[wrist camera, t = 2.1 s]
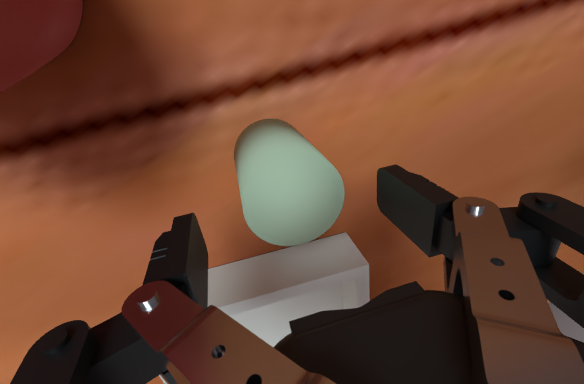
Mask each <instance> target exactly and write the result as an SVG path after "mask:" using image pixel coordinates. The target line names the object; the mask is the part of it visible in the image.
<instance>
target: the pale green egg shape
mask: <svg viewBox="0 0 584 384" xmlns="http://www.w3.org/2000/svg"><path fill="white" fill-rule="evenodd" d="M234 160H235V166H236V171H237V177H238V183H239V189H240V195H241V201H242V207H243V213H244V217H245V220H246V222H247V224H248V226H249V228H250V229H251V230H252V231H253V232H254V233H255V234H256V235H257V236H258V237H259V238H261V239H262V240H264V241H266V242H268V243H271V244H275V245H280V246H295V245H300V244H304V243H307V242H309V241H312V240H314V239H316V238H317V237H319V236H321V235H322V234H323V233H325V232H326V231H327V230H328V229H329V228H330V227H331V226H332V225H333V224H334V222H335V221H336V219H337V218H338V216H339V214H340V212H341V210H342V207H343V203H344V196H345V191H344V184H343V181H342V178H341V176H340V174H339V172H338V171H337V169H336V168H335V167H334V166H333V165H332V164H331V163H330V162H329V161H328V160H327V159H326V158H325V157H324V156H323V155H322V154H321V153H320V152H319V151H318V150H317V149H316V148H315V147H314V146H313V145H312V144H311V143H310V142H308V141H307V140H306V139H305V138H304V137H303V136H302V135H301V134H300V133H299V132H298V131H297V130H296V129H295V128H294V127H293V126H292V125H290V124H289V123H287V122H285V121H282V120H279V119H263V120H259V121H257V122H254V123H253V124H251V125H249V126H248V127H247V128H246V129H245V130H244V131H243V132H242V133H241V134H240V136H239V138H238V139H237V142H236V145H235V149H234Z"/></svg>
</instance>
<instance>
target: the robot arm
mask: <svg viewBox="0 0 584 384" xmlns="http://www.w3.org/2000/svg"><path fill="white" fill-rule="evenodd" d="M377 204H378V207H379V209H380V211H381V212H382V213H383V214H384V215H385V216H386V217H387V218H388V219H389V220H390V221H391V222H392V223H393V224H395V225H396V226H397V227H398V228H399V229H400V230H401V231H402V232H403V233H404V234H405V235H406V236H407V237H408V238H409V239H410V240H411V241H413V242H414V243H415V244H416V245H417V246H418V247H419V248H420V249H421V250H422V251H423V252H424V253H425V254H426V255H427V256H428V257H433V256H436V255H439V254H443V255H444V262H443V266H444V284H445V292H444V291H434V290H425V291H424V290H423V288H422V287H421V286H420V285H419V284H418V283H417V282H416V281H415V282H412V283H408V284H405V285H402V286H399V287H396V288H393V289H390V290H386V291H385V292H383V293H382V294H380V295H379V296H377V297H375V298H374V299H372V300H371V301H369V302H368V303H366V304H364V305H363V306H361V307H359V308H351V309H339V310H327V311H320V312H317V313H314V314H311V315H308V316H304V317H301V318H298V319H295V320H292V321H289V325H290V329H291V333H290V334H288V335H287V336H285V337H284V338H283V339H282V340H280V341H279V342H278V343H277V344H276V345H275V346H274V347H272V346H271V345H269V344H268V343H266V342H265V341H264V340H262V339H261V338H259V337H258V336H257V335H255V334H254V333H252V332H251V331H250V330H248V329H247V328H245V327H244V326H243V325H241V324H240V323H238V322H237V321H236V320H234V319H233V318H231V317H230V316H229V315H227V314H226V313H224V312H223V311H222V310H220V309H219V308H217V307H216V306H214V305H210V306H208V252H207V247H206V244H205V241H204V238H203V235H202V232H201V229H200V227H199V224H198V221H197V218H196V216H195V214H194V213H190V214H186V215H182V216H178V217H174V220H173V224H172V229H171V231H168V232H164V233H162V235H161V236H160V237H159V238H158V239H157V240H156V242H155V244H154V248H153V253H152V255H151V258H150V259H151V260H150V261H149V265H148V268H147V272H146V275H145V278H144V282H143V285H142V286H141V287H139V288H138V289H136V290H135V291H134V292H133V293H131V294H130V295H129V297H128V298H127V299H126V300H125V302H124V304H123V306H122V312H121V313H119V314H118V315H116V316H114V317H112V318H110V319H108V320H106V321H104V322H103V323H101V324H99V325H97V326H95V327H93V328H90V327H89V326H88V324H87V323H86V322H84V321H81V320H74V321H70V322H66V323H64V324H61V325H59V326H57V327H55V328H54V329H52V330H50V331H49V332H47V333H46V334H45V335H43V336H42V337H41V338H40V339H39V340H37V341H36V342H35V344H34V345H33V346H32V347H31V348H30V349H29V351H28V352H27V354H26V356H25V357H24V359H23V361H22V363H21V365H20V367H19V368H18V370H17V372H16V374H15V376H14V378H13V379H12V381H11V383H10V384H146V383H147V382H149V381H150V380H152V379H154V378H155V377H157V376H158V375H160V376H161V377H162V378H163V379H164V380H165V381H166V383H167V384H584V343H583V342H580V341H578V340H575V339H573V338H570V337H567V336H565V335H563V334H562V333H561V332H560V330H559V328H558V326H557V323H556V321H555V318H554V316H553V313H552V311H551V309H550V306H549V304H548V301H547V299H548V300H549V301H550V302H551V303H553V304H554V305H555V306H556V307H558V308H559V309H560V310H562V311H563V312H564V313H565V314H567V315H568V316H569V317H570V318H572V319H573V320H574V321H575V322H577V323H578V324H579V325H580V326H582V327H583V328H584V275H583V274H582V273H580V272H579V271H577V270H575V269H574V268H572V267H571V266H569V265H568V264H566V263H565V262H563V261H561V260H560V259H558V258H557V257H555V256H556V254H557V251H558V249H559V246H560V244H561V242H563V243H564V244H566V245H568V246H569V247H571V248H573V249H574V250H576V251H578V252H580V253H581V254H583V255H584V207H582V206H580V205H578V204H576V203H573V202H571V201H569V200H567V199H564V198H562V197H559V196H556V195H552V194H547V193H527V194H524V195H522V196H521V198H520V201H519V204H518V207H509V208H499V207H498V206H497V205H496V204H495V203H493V202H491V201H489V200H486V199H483V198H478V197H462V198H458V197H456V196H455V195H453V194H451V193H450V192H448V191H446V190H445V189H443V188H441V187H440V186H437V185H436V184H434V183H433V182H430V181H429V180H428V179H426V178H424V177H423V176H421V175H417V174H414V173H411V172H408V171H406V170H405V169H403V168H401V167H400V166H398V165H391V166H387V167H383V168H380V169H378V172H377Z"/></svg>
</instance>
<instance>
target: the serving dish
mask: <svg viewBox="0 0 584 384" xmlns="http://www.w3.org/2000/svg"><path fill="white" fill-rule="evenodd" d="M369 301H370V288H369V263H368V262H367V261H366V259H365V258H364V256H363V255H362V254H361V252H360V251H359V250H358V248H357V247H356V245H355V244H354V243H353V241H352V240H351V238H350V237H349V236H348V234H347V233H346V232H344V233H340V234H337V235H333V236H329V237H326V238H322V239H318V240H314V241H311V242H307V243H304V244H300V245H296V246H292V247H288V248H285V249H281V250H277V251H273V252H270V253H266V254H262V255H259V256H255V257H251V258H247V259H244V260H240V261H236V262H232V263H229V264H225V265H221V266H218V267H214V268H210V269H208V306H210V305H214V306H216V307H217V308H219V309H220V310H222V311H223V312H224V313H226V314H227V315H229V316H230V317H231V318H233V319H234V320H236V321H237V322H238V323H240V324H241V325H243V326H244V327H245V328H247V329H248V330H250V331H251V332H252V333H254V334H255V335H257V336H258V337H259V338H261V339H262V340H264V341H265V342H266V343H268V344H269V345H271V346H272V347H274V346H275V345H276V344H277V343H278V342H279V341H280V340H282V339H283V338H284V337H285V336H287V335H288V334H290V333H291V329H290V325H289V321H292V320H295V319H298V318H301V317H304V316H308V315H311V314H314V313H317V312H320V311H327V310H339V309H351V308H359V307H361V306H363V305H364V304H366V303H368V302H369ZM159 376H160V375H159ZM160 378H161V379H162V381H163V382H164V384H167V383H166V381H165V380H164V379H163V378H162V377H161V376H160Z"/></svg>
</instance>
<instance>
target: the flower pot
mask: <svg viewBox="0 0 584 384" xmlns="http://www.w3.org/2000/svg"><path fill="white" fill-rule="evenodd" d="M82 11H83V0H0V93H1V92H3V91H5V90H6V89H8V88H10V87H11V86H13V85H15V84H16V83H18V82H19V81H21V80H23V79H24V78H26V77H27V76H29V75H30V74H32V73H33V72H35V71H36V70H38V69H39V68H41V67H42V66H44V65H45V64H47V63H48V62H50V61H51V60H53V59H54V58H55V57H57V56H58V55H59V54H61V53H62V52H63V51H64V50H65V49H66V48H67V47H68V46H69V45H70V43H71V42H72V41H73V39H74V37H75V35H76V33H77V31H78V28H79V25H80V22H81V17H82Z"/></svg>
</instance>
